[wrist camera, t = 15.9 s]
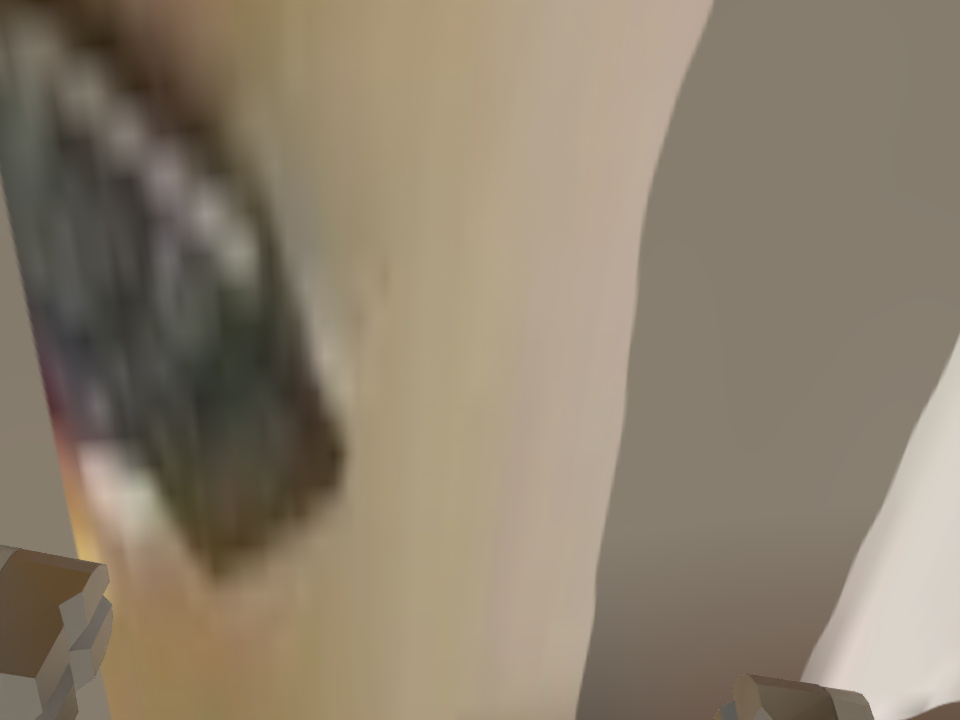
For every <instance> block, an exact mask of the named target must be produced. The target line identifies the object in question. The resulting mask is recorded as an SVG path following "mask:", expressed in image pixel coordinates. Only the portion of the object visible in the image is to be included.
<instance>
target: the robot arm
mask: <svg viewBox="0 0 960 720" xmlns="http://www.w3.org/2000/svg"><path fill="white" fill-rule="evenodd" d="M109 582H110V581H109V575H108V569H107V565H105V564H100V563H95V562H89V561H84V560H79V559H73V558H67V557H63V556H57V555H52V554H46V553H41V552H36V551H30V550H24V549H22V548H16V547H10V546H5V545H0V720H75V719H76V716H77V714H78V705H77V699H76V691H77V690H79V689H80V688H82V687H83V686H85V685H86V684H87V683H89V682H90V681H92V680H93V679H94V678H95V676H96V674H97V672H98V670H99V667H100V665H101V663H102V661H103V659H104V656H105V653H106V650H107V646H108V643H109V639H110V636H111V632H112V623H113V609H112V604H111V603H110V602H109V601H108V600H107V599H106V598H105V597H104V596H103V594H104V592H105V590H106V588H107V586H108V584H109ZM733 693H734V699H735V701H732V702H730V703H728V704H726V705H723V706H721V707H720V708H719V710H718V711H717V713H716V715H715V717H714V718H713V720H874V717H873V714H872V711H871V708H870V705H869V703H868V701H867V700H866V699H865V697H864V696H863V695H862V694H860V693H857V692H854V691H848V690H842V689H835V688H828V687H821V686H819V685H818V684H811V683H805V682H798V681H792V680H785V679H779V678H772V677H766V676H759V675H753V674H746V675H744V676H741V677H740V678H739V679H738V681H737V682H736V684H735V685H734V687H733Z"/></svg>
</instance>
